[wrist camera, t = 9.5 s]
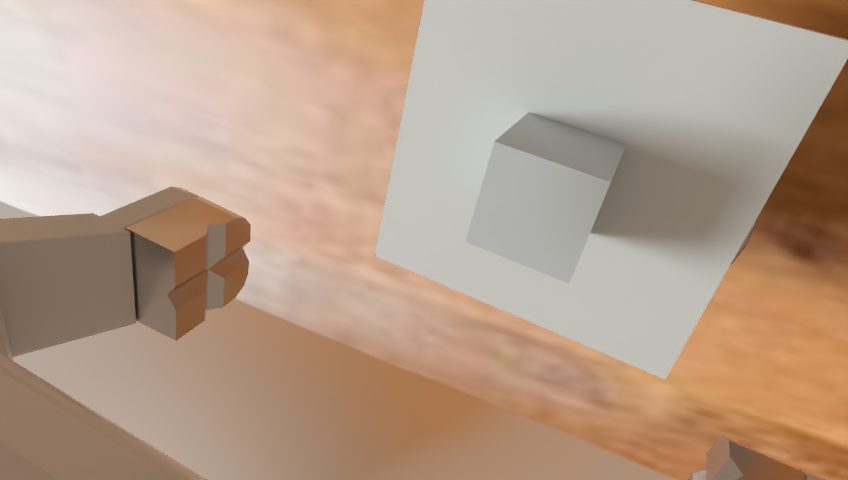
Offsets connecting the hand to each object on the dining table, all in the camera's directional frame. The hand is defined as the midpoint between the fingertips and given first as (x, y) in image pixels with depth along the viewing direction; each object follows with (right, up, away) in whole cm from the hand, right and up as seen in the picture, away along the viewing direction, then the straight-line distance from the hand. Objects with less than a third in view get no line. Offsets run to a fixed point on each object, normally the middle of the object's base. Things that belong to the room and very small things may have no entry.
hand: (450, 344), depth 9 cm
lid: (+4, +4, +9) cm, 11 cm away
